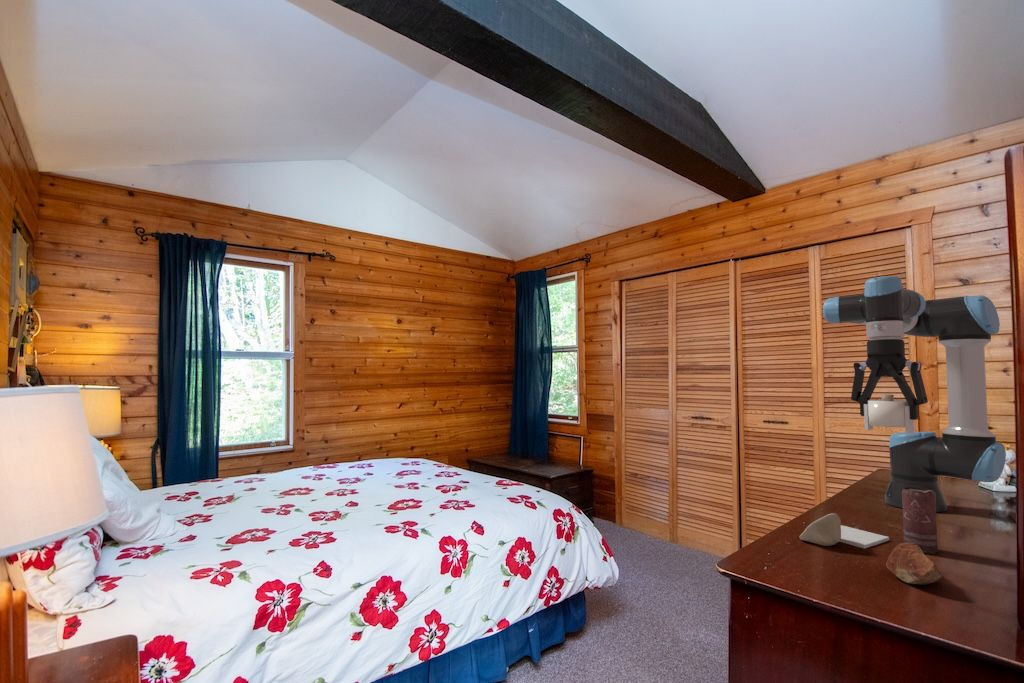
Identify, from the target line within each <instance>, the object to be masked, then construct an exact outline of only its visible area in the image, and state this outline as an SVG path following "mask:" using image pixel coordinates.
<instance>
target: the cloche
mask: <svg viewBox="0 0 1024 683" xmlns="http://www.w3.org/2000/svg"><path fill="white" fill-rule="evenodd" d="M894 396H895V395H894V394H888V393H887V394H884V393H883V394H881V395H880V397H881V399H870V400H868V417H869V425H872V426H873V427H883V428H905V406H908V405H907V404H908V403H907V401H906V400H895V397H894Z"/></svg>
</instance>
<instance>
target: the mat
mask: <svg viewBox="0 0 1024 683" xmlns="http://www.w3.org/2000/svg"><path fill="white" fill-rule="evenodd" d="M888 541H890V536H887V535H883V534H878V533H874V532H869V531H866V530H862V529H858V528H854V527H850V526H846V525H842V524H841V539H840V541H839V542H838V543H842V544H847V545H851V546H854V547H857V548H860V549H867V548H870V547H874V546H877V545H880V544H883V543H886V542H888Z"/></svg>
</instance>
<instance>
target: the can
mask: <svg viewBox="0 0 1024 683" xmlns="http://www.w3.org/2000/svg"><path fill="white" fill-rule="evenodd" d="M902 506H903V508H902V521H903V522H902V524H903V525H902V526H903V527H902V528H903V543H907V542H908V543H915V544H917V545H918V546H919V547H920V548H921V550H922V551H923V552H924V554H925V555H934V554H936V553H937V552H938V551H939V548H938V545H939V544H938V528H937V526H938V522H937V512H936V495H935V492H934V491H932V490H927V489H921V488H911V487H907V488H904V489H903V491H902Z"/></svg>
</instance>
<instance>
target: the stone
mask: <svg viewBox="0 0 1024 683" xmlns="http://www.w3.org/2000/svg"><path fill="white" fill-rule="evenodd" d="M841 525H842V521H841V518H840V516H839V515H838V514H837V513H834V512H833V513H827V514H826V515H824V516H822V517H820V518H818V519H816V520H815V521H813V522H811V523H810V524H809V525H807V527H806V528H804V530H803V532H802V533H801V534H800V535H799V539H800V540H801V541H806V542H809V543H813V544H816V545H819V546H824V547H831V546H835V545H836V544H837V543H840V542H839V541H840V539H841Z"/></svg>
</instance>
